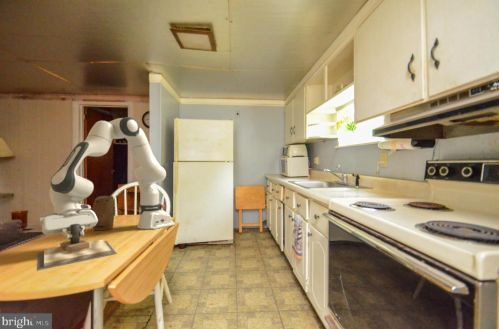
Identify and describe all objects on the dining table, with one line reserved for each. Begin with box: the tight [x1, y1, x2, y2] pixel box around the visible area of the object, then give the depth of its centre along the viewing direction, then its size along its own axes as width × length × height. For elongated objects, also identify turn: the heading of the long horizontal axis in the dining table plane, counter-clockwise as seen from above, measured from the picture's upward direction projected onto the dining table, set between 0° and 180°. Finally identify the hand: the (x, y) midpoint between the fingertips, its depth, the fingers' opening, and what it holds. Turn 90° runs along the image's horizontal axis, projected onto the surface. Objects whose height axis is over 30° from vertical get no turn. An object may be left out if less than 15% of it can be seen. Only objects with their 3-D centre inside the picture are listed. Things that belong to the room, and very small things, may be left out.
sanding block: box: [59, 224, 90, 253], centre depth 105 cm, size 10×7×10 cm
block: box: [92, 195, 115, 231], centre depth 145 cm, size 11×8×20 cm
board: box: [43, 239, 111, 267], centre depth 104 cm, size 22×19×2 cm
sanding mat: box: [36, 240, 118, 271], centre depth 104 cm, size 26×23×1 cm
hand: (76, 237), depth 105 cm, fingers closed on sanding block, 3 cm apart
